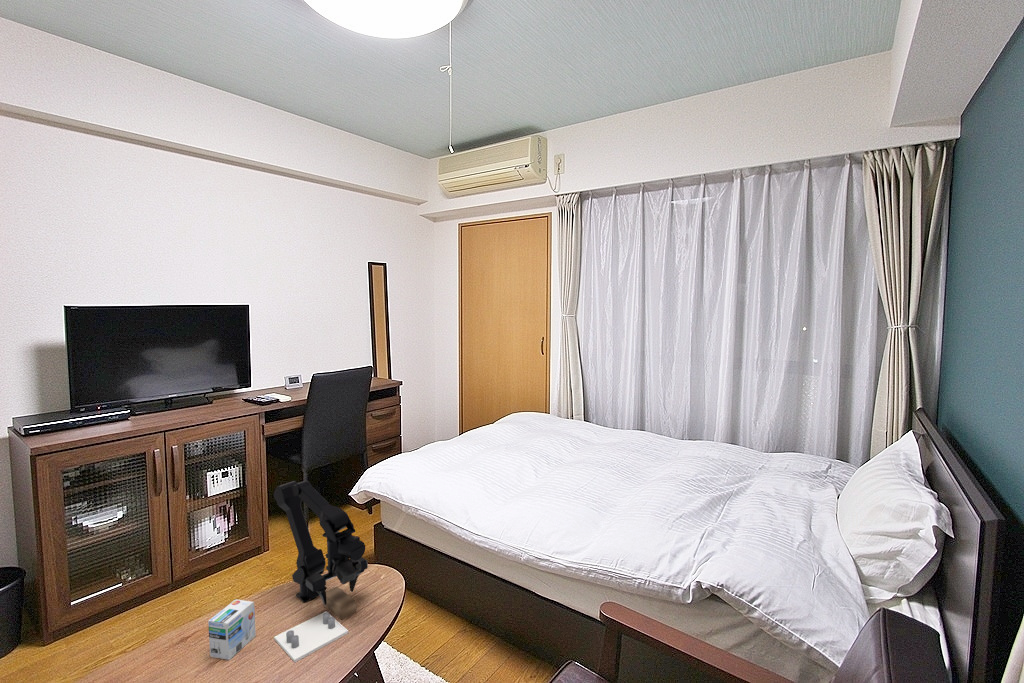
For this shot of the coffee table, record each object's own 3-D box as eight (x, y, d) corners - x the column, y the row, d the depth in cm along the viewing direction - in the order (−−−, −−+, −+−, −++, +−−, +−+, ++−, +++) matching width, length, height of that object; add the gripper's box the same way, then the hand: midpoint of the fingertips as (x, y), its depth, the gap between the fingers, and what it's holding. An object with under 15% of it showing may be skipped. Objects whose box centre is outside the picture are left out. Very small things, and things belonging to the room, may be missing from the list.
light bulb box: (229, 661, 134) (227, 623, 133) (208, 657, 136) (206, 621, 135) (257, 635, 145) (255, 600, 144) (237, 632, 146) (235, 598, 145)
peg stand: (274, 639, 143) (273, 628, 142) (326, 613, 154) (325, 603, 154) (294, 662, 133) (294, 651, 133) (348, 633, 145) (347, 622, 145)
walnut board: (323, 606, 159) (322, 593, 158) (337, 599, 162) (336, 586, 162) (341, 621, 151) (341, 607, 150) (356, 613, 155) (355, 600, 154)
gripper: (320, 572, 143) (322, 622, 144) (376, 548, 157) (377, 594, 158) (303, 559, 150) (305, 607, 152) (358, 537, 164) (359, 581, 165)
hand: (338, 597), depth 156 cm, fingers open, 9 cm apart
